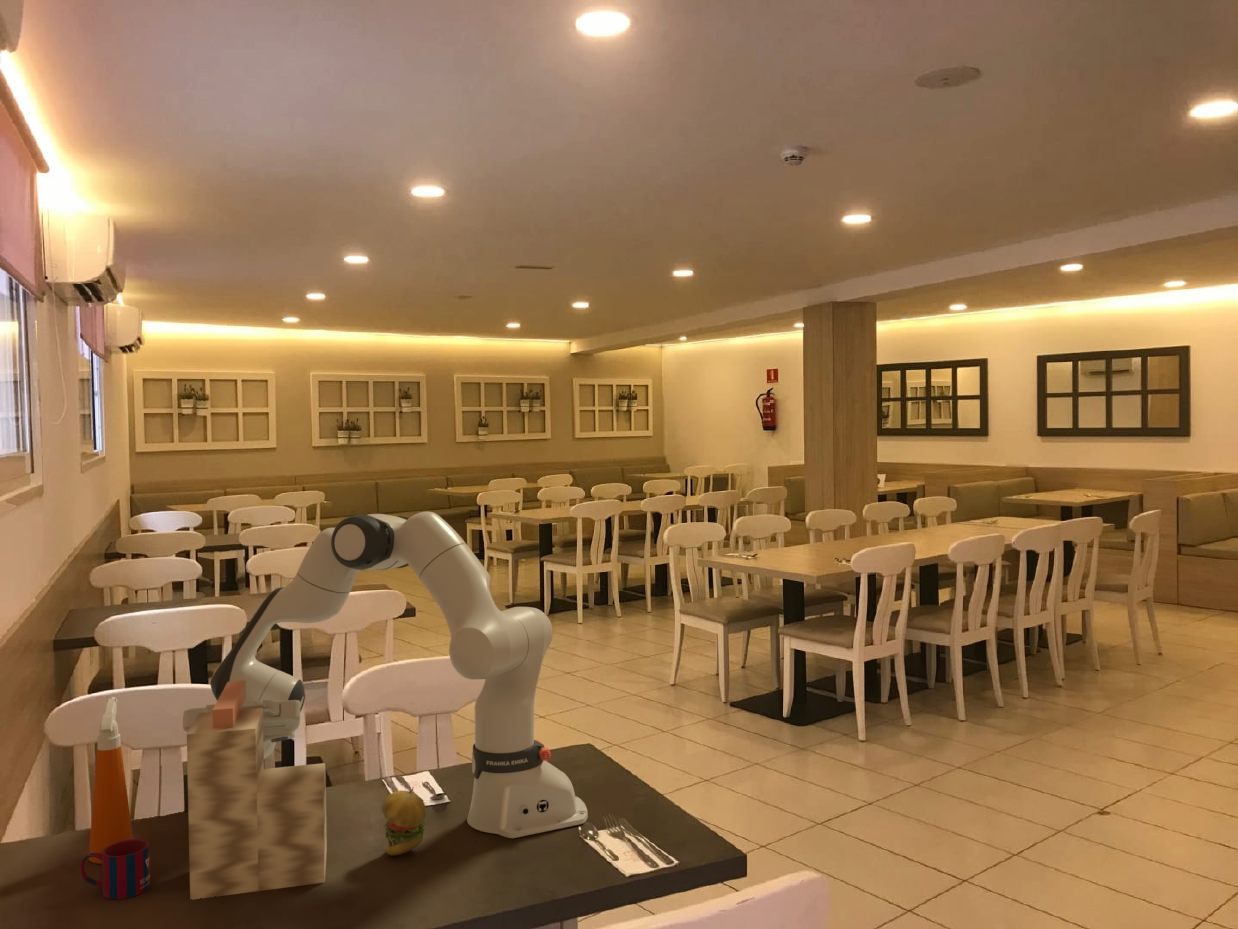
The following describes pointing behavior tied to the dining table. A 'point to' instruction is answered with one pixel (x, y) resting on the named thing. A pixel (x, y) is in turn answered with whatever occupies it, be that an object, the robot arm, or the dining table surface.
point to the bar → (229, 704)
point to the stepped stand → (250, 813)
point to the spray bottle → (109, 788)
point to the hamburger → (403, 821)
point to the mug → (122, 869)
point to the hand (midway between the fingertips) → (238, 706)
